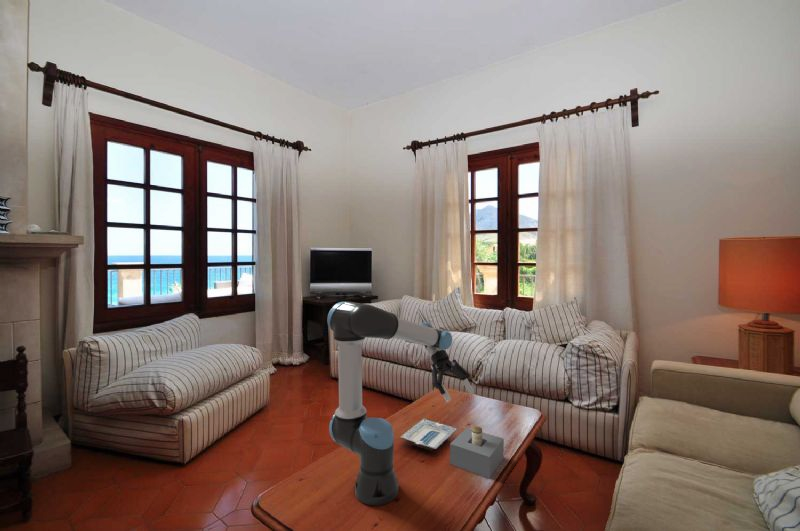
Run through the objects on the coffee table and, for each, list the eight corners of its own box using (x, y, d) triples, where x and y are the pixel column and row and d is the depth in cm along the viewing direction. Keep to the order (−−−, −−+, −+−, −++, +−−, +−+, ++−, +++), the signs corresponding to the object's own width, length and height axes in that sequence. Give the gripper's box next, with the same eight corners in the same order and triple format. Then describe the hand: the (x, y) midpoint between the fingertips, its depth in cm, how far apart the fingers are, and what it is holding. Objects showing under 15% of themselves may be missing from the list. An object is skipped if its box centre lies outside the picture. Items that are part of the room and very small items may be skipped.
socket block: (489, 478, 128) (489, 456, 128) (450, 464, 137) (450, 443, 137) (503, 458, 141) (503, 438, 141) (466, 446, 150) (466, 427, 150)
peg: (479, 462, 136) (479, 432, 136) (470, 459, 138) (470, 429, 138) (483, 457, 140) (483, 428, 139) (474, 454, 142) (474, 425, 142)
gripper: (453, 354, 168) (476, 395, 156) (412, 362, 154) (434, 408, 141) (461, 345, 163) (486, 386, 151) (419, 353, 149) (443, 399, 137)
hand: (461, 397), depth 146 cm, fingers open, 13 cm apart
